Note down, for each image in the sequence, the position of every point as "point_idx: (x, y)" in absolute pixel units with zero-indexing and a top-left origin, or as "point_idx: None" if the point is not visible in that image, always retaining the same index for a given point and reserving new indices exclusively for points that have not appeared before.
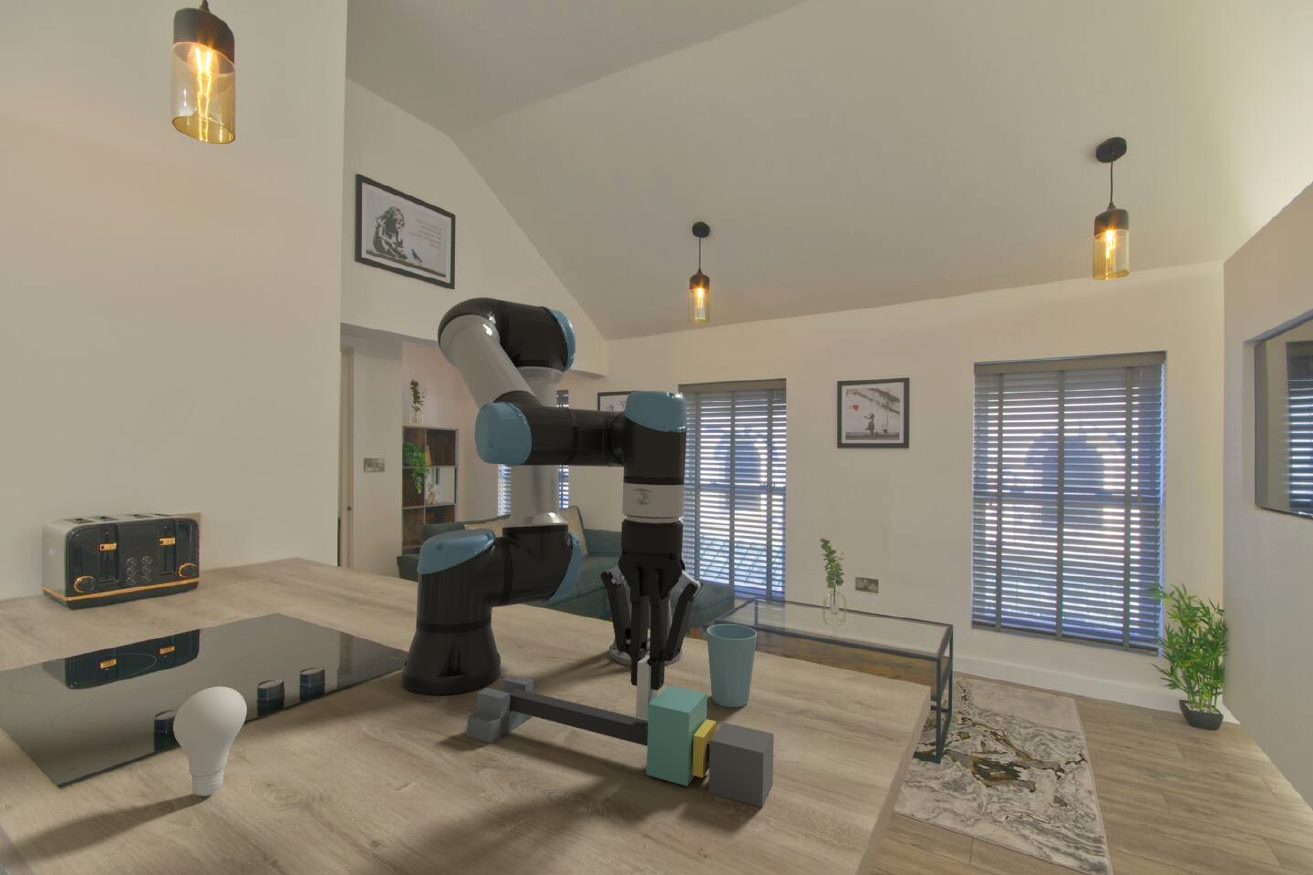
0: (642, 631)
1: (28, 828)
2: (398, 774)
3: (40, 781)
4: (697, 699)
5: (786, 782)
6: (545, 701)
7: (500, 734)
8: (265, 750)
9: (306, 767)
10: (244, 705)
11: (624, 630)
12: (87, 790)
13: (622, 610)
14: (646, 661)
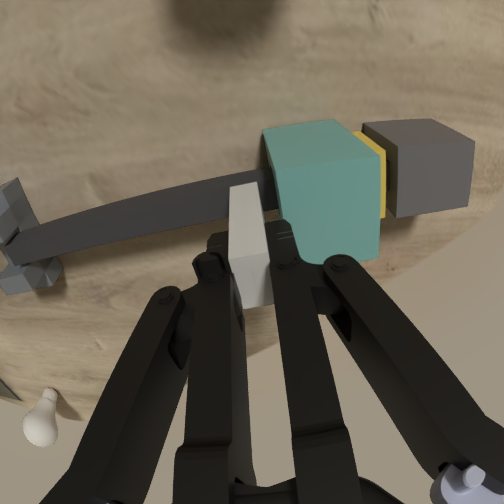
0: (242, 362)
1: None
2: (78, 339)
3: (14, 400)
4: (373, 199)
5: (443, 103)
6: (59, 248)
7: (53, 257)
8: (8, 357)
9: (39, 359)
10: (38, 428)
11: (182, 372)
12: (28, 399)
13: (157, 424)
14: (259, 293)
